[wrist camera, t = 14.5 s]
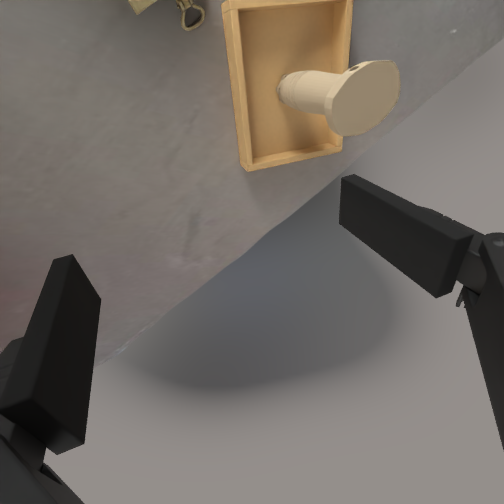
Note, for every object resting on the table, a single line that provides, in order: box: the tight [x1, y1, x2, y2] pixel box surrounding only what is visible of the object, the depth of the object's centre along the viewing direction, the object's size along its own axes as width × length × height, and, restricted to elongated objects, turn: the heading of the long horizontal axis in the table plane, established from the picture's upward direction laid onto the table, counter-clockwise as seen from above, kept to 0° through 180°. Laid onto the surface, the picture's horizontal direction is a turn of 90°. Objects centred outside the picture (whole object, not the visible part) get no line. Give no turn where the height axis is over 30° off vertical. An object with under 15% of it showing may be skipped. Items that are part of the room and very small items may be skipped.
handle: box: [276, 61, 401, 137], centre depth 29 cm, size 5×6×15 cm
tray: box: [221, 0, 353, 172], centre depth 34 cm, size 17×14×3 cm
